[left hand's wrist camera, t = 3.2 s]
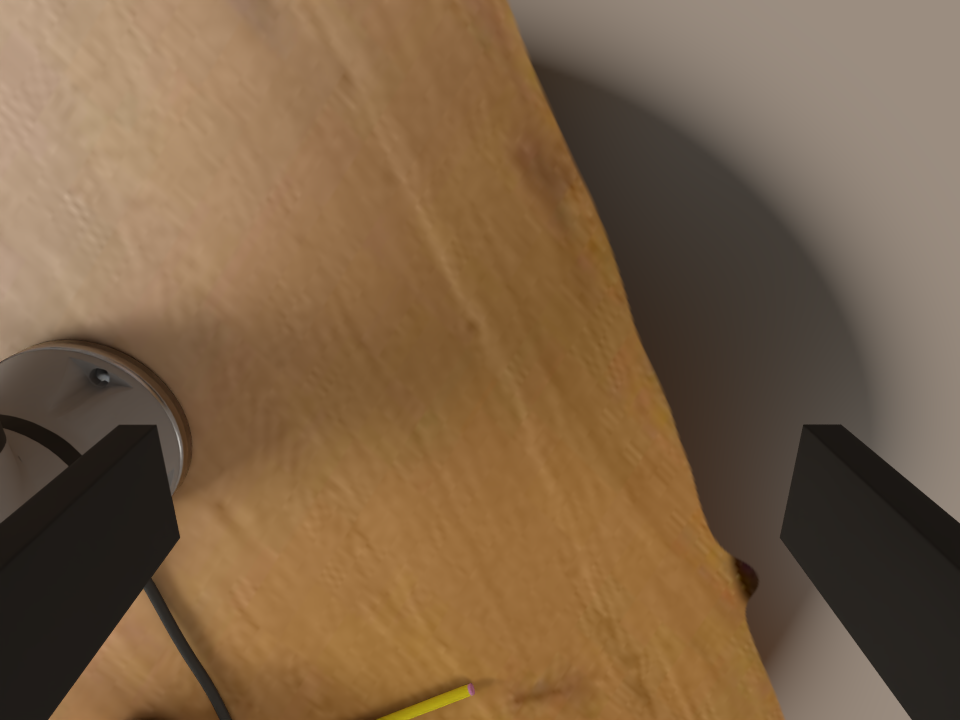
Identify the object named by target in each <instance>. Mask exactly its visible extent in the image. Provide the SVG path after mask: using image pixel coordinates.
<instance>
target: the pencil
mask: <svg viewBox="0 0 960 720" xmlns="http://www.w3.org/2000/svg"><path fill="white" fill-rule="evenodd" d="M474 694H475V690H474V687H473V685H472V683H470V684H467V685H464V686H461V687H459V688H456V689H454V690H451V691H448V692H446V693H443V694H441V695H438V696H435V697H433V698H430V699H428V700H425V701H422V702H420V703H417V704H415V705H412V706H409V707H407V708H404V709H402V710H399V711H396V712H394V713H391V714H389V715H386V716H384V717H381V718H378V719H376V720H409V719H411V718H414V717H416V716H419V715H422V714H424V713H427V712H430V711H432V710H435V709H437V708H440V707H443V706H445V705H448V704H451V703H453V702H456V701H458V700H461V699H464V698H466V697H469V696H472V695H474Z"/></svg>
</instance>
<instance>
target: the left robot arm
mask: <svg viewBox="0 0 960 720" xmlns="http://www.w3.org/2000/svg"><path fill="white" fill-rule="evenodd" d="M191 455H192V441H191V434H190V429H189V425H188V422H187V419H186V417H185V414H184V412H183V410H182V408H181V406H180V404H179V402H178V401H177V399H176V398H175V396H174V395H173V393H172V392H171V391H170V390H169V388H168V387H167V386H166V385H165V384H164V383H163V382H162V381H161V379H160V378H159V377H157V376H156V375H155V374H154V373H153V372H152V371H151V370H149V369H148V368H147V367H145V366H144V365H143V364H141V363H140V362H138V361H137V360H135V359H134V358H132V357H130V356H128V355H126V354H124V353H122V352H120V351H118V350H115V349H113V348H110V347H107V346H104V345H101V344H97V343H93V342H87V341H80V340H56V341H49V342H44V343H40V344H37V345H34V346H31V347H29V348H27V349H25V350H22V351H20V352H18V353H16V354H14V355H12V356H10V357H8V358H6V359H5V360H3V361H1V362H0V720H48V719H49V718H50V716H51V715H52V714H53V712H54V711H55V709H56V708H57V707H58V705H59V704H60V703H61V701H62V700H63V698H64V697H65V696H66V694H67V693H68V692H69V690H70V689H71V687H72V686H73V685H74V683H75V682H76V681H77V679H78V678H79V676H80V675H81V674H82V672H83V671H84V670H85V668H86V667H87V665H88V664H89V663H90V661H91V660H92V658H93V657H94V656H95V654H96V653H97V652H98V650H99V649H100V647H101V646H102V645H103V643H104V642H105V641H106V639H107V638H108V636H109V635H110V634H111V632H112V631H113V630H114V628H115V627H116V625H117V624H118V623H119V621H120V620H121V618H122V617H123V616H124V614H125V613H126V612H127V610H128V609H129V607H130V606H131V605H132V603H133V602H134V601H135V599H136V598H137V596H138V595H139V594H140V592H141V591H142V590H143V588H144V590H145V592H146V594H147V595H148V597H149V599H150V601H151V602H152V604H153V606H154V608H155V610H156V612H157V613H158V615H159V617H160V619H161V621H162V622H163V624H164V626H165V628H166V630H167V631H168V633H169V635H170V637H171V638H172V640H173V642H174V644H175V645H176V647H177V649H178V650H179V652H180V653H181V655H182V657H183V658H184V660H185V661H186V663H187V664H188V666H189V667H190V669H191V671H192V672H193V674H194V675H195V677H196V678H197V680H198V681H199V683H200V684H201V686H202V687H203V689H204V691H205V692H206V694H207V696H208V698H209V699H210V701H211V703H212V705H213V707H214V709H215V711H216V713H217V715H218V717H219V719H220V720H232V719H231V717H230V715H229V713H228V711H227V709H226V707H225V705H224V703H223V701H222V699H221V697H220V695H219V693H218V691H217V689H216V687H215V686H214V684H213V682H212V681H211V679H210V677H209V676H208V674H207V673H206V671H205V669H204V668H203V666H202V665H201V663H200V662H199V660H198V659H197V657H196V656H195V654H194V652H193V651H192V649H191V648H190V646H189V644H188V643H187V641H186V639H185V638H184V636H183V634H182V632H181V631H180V629H179V627H178V625H177V624H176V622H175V620H174V618H173V616H172V615H171V613H170V611H169V609H168V607H167V605H166V603H165V602H164V600H163V598H162V596H161V594H160V592H159V591H158V589H157V587H156V585H155V583H154V582H153V580H152V578H151V577H152V576H153V574H154V573H155V572H156V570H157V569H158V567H159V566H160V565H161V563H162V562H163V561H164V559H165V558H166V556H167V555H168V554H169V552H170V551H171V550H172V548H173V547H174V545H175V544H176V543H177V541H178V540H179V539H180V535H179V530H178V525H177V520H176V515H175V510H174V506H173V501H172V496H173V495H174V493H175V492H176V491H177V490H178V488H179V487H180V486H181V484H182V482H183V481H184V479H185V477H186V475H187V472H188V470H189V466H190V462H191ZM780 539H781V540H782V541H783V543H784V544H785V545H786V547H787V548H788V550H789V551H790V552H791V554H792V555H793V556H794V558H795V559H796V561H797V562H798V563H799V565H800V566H801V567H802V569H803V570H804V572H805V573H806V574H807V576H808V577H809V579H810V580H811V581H812V583H813V584H814V585H815V587H816V588H817V590H818V591H819V592H820V594H821V595H822V596H823V598H824V599H825V601H826V602H827V603H828V605H829V606H830V607H831V609H832V610H833V612H834V613H835V614H836V616H837V617H838V618H839V620H840V621H841V623H842V624H843V625H844V627H845V628H846V629H847V631H848V632H849V634H850V635H851V636H852V638H853V639H854V641H855V642H856V643H857V645H858V646H859V647H860V649H861V650H862V652H863V653H864V654H865V656H866V657H867V658H868V660H869V661H870V663H871V664H872V665H873V667H874V668H875V670H876V671H877V672H878V674H879V675H880V676H881V678H882V679H883V681H884V682H885V683H886V685H887V686H888V687H889V689H890V690H891V692H892V693H893V694H894V696H895V697H896V698H897V700H898V701H899V703H900V704H901V705H902V707H903V708H904V709H905V711H906V712H907V714H908V715H909V716H910V718H911V719H912V720H960V523H959V522H957V521H956V520H955V519H954V518H953V517H951V516H950V515H949V514H948V513H947V512H945V511H944V510H943V509H942V508H941V507H939V506H938V505H937V504H936V503H935V502H933V501H932V500H931V499H930V498H929V497H927V496H926V495H925V494H924V493H923V492H921V491H920V490H919V489H918V488H917V487H915V486H914V485H913V484H912V483H911V482H909V481H908V480H907V479H906V478H905V477H903V476H902V475H901V474H900V473H899V472H897V471H896V470H895V469H894V468H893V467H891V466H890V465H889V464H888V463H887V462H885V461H884V460H883V459H882V458H881V457H879V456H878V455H877V454H876V453H875V452H873V451H872V450H871V449H870V448H869V447H867V446H866V445H865V444H864V443H863V442H861V441H860V440H859V439H858V438H857V437H855V436H854V435H853V434H852V433H851V432H849V431H848V430H847V429H846V428H844V427H843V426H842V425H803V429H802V433H801V438H800V443H799V448H798V453H797V458H796V463H795V467H794V472H793V477H792V482H791V487H790V491H789V496H788V501H787V506H786V510H785V515H784V520H783V525H782V530H781V535H780Z"/></svg>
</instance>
